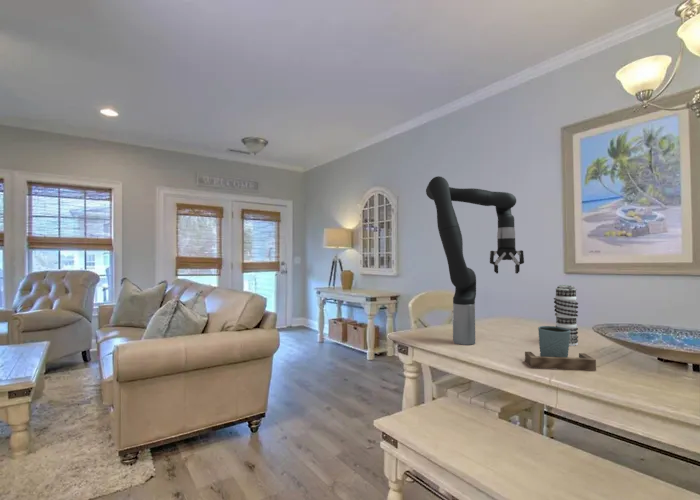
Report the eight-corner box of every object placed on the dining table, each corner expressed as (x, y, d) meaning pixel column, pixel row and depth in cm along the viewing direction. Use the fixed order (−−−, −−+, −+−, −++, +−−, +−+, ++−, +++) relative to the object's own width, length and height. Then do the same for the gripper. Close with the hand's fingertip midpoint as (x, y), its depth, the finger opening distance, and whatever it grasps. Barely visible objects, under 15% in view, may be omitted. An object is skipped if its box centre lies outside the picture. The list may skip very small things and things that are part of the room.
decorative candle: (550, 340, 164) (549, 284, 165) (571, 340, 164) (570, 284, 164) (561, 346, 155) (560, 286, 156) (583, 346, 155) (582, 286, 155)
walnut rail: (531, 367, 127) (531, 357, 127) (525, 361, 135) (524, 351, 135) (596, 370, 123) (595, 359, 123) (585, 363, 131) (585, 353, 131)
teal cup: (537, 356, 140) (537, 325, 140) (568, 359, 136) (567, 326, 136) (540, 364, 131) (539, 330, 131) (573, 367, 127) (572, 332, 127)
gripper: (491, 237, 166) (492, 273, 166) (525, 237, 163) (525, 273, 163) (488, 238, 173) (488, 273, 173) (520, 237, 171) (521, 272, 170)
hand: (506, 273), depth 168 cm, fingers open, 8 cm apart
